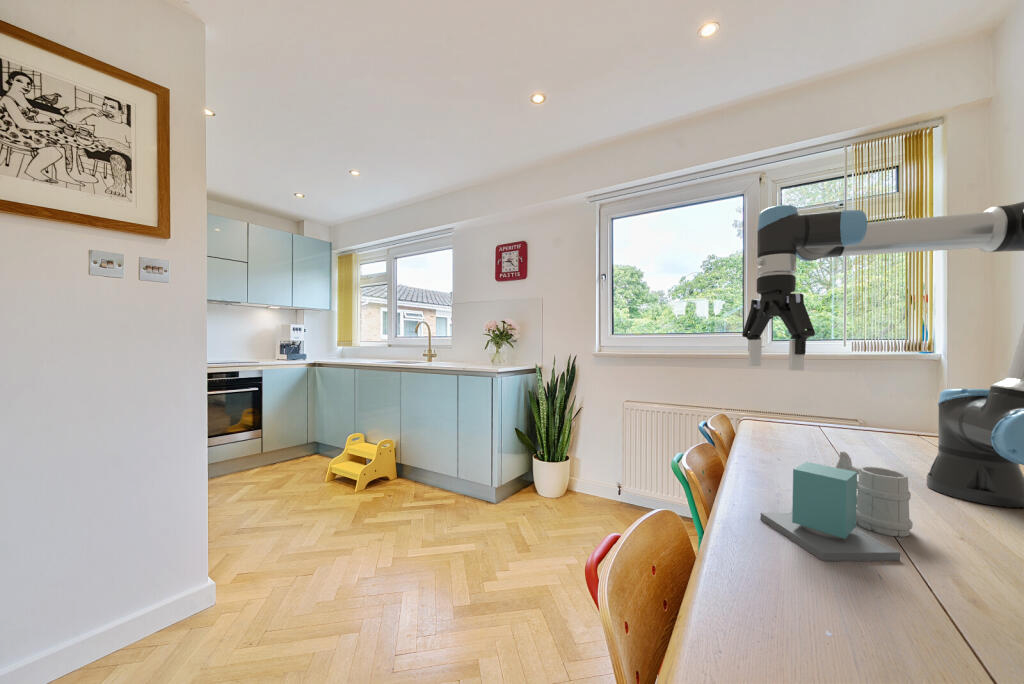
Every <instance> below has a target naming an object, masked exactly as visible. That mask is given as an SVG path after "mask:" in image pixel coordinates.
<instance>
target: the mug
mask: <svg viewBox="0 0 1024 684" xmlns="http://www.w3.org/2000/svg"><path fill="white" fill-rule="evenodd" d="M835 468H840V469H844V470H849V471H854V472H857V476H858V480H857V501H856V524H858V525H859V526H860V527H862V528H863V529H866V530H868V531H873V532H874V533H877V534H880V535H885V536H891V537H900V538H903V537H904V538H905V537H908V536H910V534H911V530H912V529H913V521H912V520H911V518H910V500H911V496H912V494H911V492H910V491H909V476H908V475H907V474H905V473H902V472H900V471H898V470H892V469H890V468H884V467H877V466H861V467H857V466H854V465H853V463H852V458H851V457H850V455H849V454H848V453H847V452H845V450H842V451H839V459H838V461H837V463H836V465H835Z"/></svg>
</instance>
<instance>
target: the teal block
mask: <svg viewBox="0 0 1024 684" xmlns="http://www.w3.org/2000/svg"><path fill="white" fill-rule="evenodd" d="M792 469H793V471H792V506H791V507H792V508H791V509H792V512H791V513H792V523H795V524H799V525H802V526H805V527H808V528H812V529H815V530H818V531H821V532H825V533H828V534H831V535H834V536H837V537H841V538H844V539H846V538H847V536H848V535H849V534H850V533H851V532H852V531H853V529H856V527H857V522H856V507H857V505H856V501H857V495H858V489H857V482H858V474H857V472H854V471H849V470H844V469H840V468H836V466H835V467H833V466H830V465H825V464H824V465H823V464H820V463H814V462H810V461H805V462H803V463H801V464H800V465H797V467H796V466H795V467H794V468H792Z"/></svg>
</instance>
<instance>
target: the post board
mask: <svg viewBox="0 0 1024 684" xmlns="http://www.w3.org/2000/svg"><path fill="white" fill-rule="evenodd" d="M760 520H761V521H762V522H764V523H766V524H767V525H768V526H770V527H771V528H773V529H775V530H776V531H778V532H779V533H780V534H782V535H783V536H785V537H787V538H788V539H790V540H791V541H793V542H794V543H795V544H797V545H798V546H800V547H801V548H803V549H804V550H806V551H807V552H809V553H810V554H812V555H814V556H815V557H817V558H818V559H819V560H821V561H823V562H838V561H839V562H840V561H841V562H843V561H844V562H849V561H850V562H851V561H853V562H854V561H855V562H856V561H857V562H859V561H860V562H861V561H862V562H863V561H864V562H867V561H869V562H871V561H876V562H877V561H878V562H879V561H880V562H881V561H886V562H887V561H901V552H900V551H898V550H897V549H894V548H893V547H891V546H889V545H887V544H885V543H883V542H881V541H879V540H877V539H875V538H873V537H871V536H870V535H868V534H865V533H864V532H862V531H860V530H858V529H857V528H854V529H853V531H852V532H851V533H850V534H849V535H848V536H847V538H846V539H844V538H841V537H837V536H834V535H831V534H828V533H825V532H821V531H818V530H815V529H812V528H808V527H805V526H802V525H799V524H795V523H792V512H760Z"/></svg>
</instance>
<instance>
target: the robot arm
mask: <svg viewBox="0 0 1024 684" xmlns="http://www.w3.org/2000/svg"><path fill="white" fill-rule="evenodd" d="M757 223H758V224H757V230H756V233H757V238H756V239H757V245H756V247H757V248H756V249H757V251H756V252H757V257H756V258H757V260H756V261H757V262H756V264H757V265H756V266H757V267H756V275H757V276H758V277H757V278H756V293H757V294H758V295H761V297H760V299H757V298H756V299H752V300H751V302H750V310H749V312H748V316H747V319H746V322H745V325H744V327H743V331H742V337H743V338H746V339H747V340H748V348H747V349H748V367H762V346H763V345H762V341H763V339H762V337H761V336H762V335H763V333H764V330H765V329H766V327H767V326H768V324H769V322H770V320H771V319H773V318H775V317H778V318H780V319H781V321H782V323H783V324H784V326H785V328H786V330H788V332H789V334H790V335H791V336H790V337H789V347H788V349H789V350H788V351H789V352H788V355H789V357H788V370H789V371H804V370H805V355H806V353H807V350H806V349H807V348H806V347H807V346H806V345H807V343H806V342H807V340H808V339H809V338H810V337H814V336H815V335H816V332H815V329H814V327H813V324H812V321H811V319H810V316H809V315H810V314H809V313H808V311H807V308H806V305H805V300H804V299H805V298H804V294H803V293H794V292H795V291H796V285H797V284H796V283H797V282H796V281H797V280H796V279H797V277H796V276H795V275H794V274H796V272H797V259H799V260H801V261H803V262H812V261H818V260H819V259H822V258H823V259H825V258H836V257H838V258H839V257H850V256H867V255H868V256H869V255H883V254H884V255H885V254H898V253H899V254H900V253H902V254H903V253H918V252H933V251H935V252H937V251H952V250H967V249H968V250H969V249H978V250H980V251H981V252H984V253H996V252H1024V201H1021V202H1016V203H1013V204H1006V205H998V206H990V207H989V208H986V209H985V210H984V211H983V212H974V213H962V214H951V215H941V216H930V217H928V216H927V217H916V218H904V219H893V220H883V221H882V220H881V221H873V222H871V221H869V222H868V218H867V215H866V212H865V211H863V210H862V209H847V210H846V209H842V210H836V211H826V212H818V213H817V212H816V213H808V214H807V213H806V214H799V212H798V208H797V206H795V205H792V204H788V205H787V204H779V205H775V206H774V205H773V206H770V207H767V208H765V209H763V210H762V211H761V212H760V213H759V215H758V221H757ZM937 407H938V437H937V439H938V443H937V444H938V451H937V456H936V457H935V459H934V461H933V463H932V465H931V467H930V470H929V472H928V473H927V475H926V486H927V487H928V488H929V489H931V490H934V491H936V492H938V493H941V494H943V495H946V496H950V497H953V498H958V499H961V500H965V501H969V502H974V503H979V504H983V505H989V506H990V505H991V506H995V505H996V507H1002V506H1008V507H1007V508H1012V507H1024V474H1023V471H1022V470H1021V467H1020V465H1022V466H1024V324H1023V326H1022V329H1021V332H1020V335H1019V339H1018V341H1017V344H1016V347H1015V349H1014V353H1013V356H1012V359H1011V362H1010V365H1009V369H1008V372H1007V374H1006V377H1005V379H1003V380H1000V381H998V382H995V383H992V384H991V385H990V388H989V389H987V388H986V389H985V388H983V389H982V388H948V389H944V390H942V391H941V392H940V394H939V400H938V403H937Z"/></svg>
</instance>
